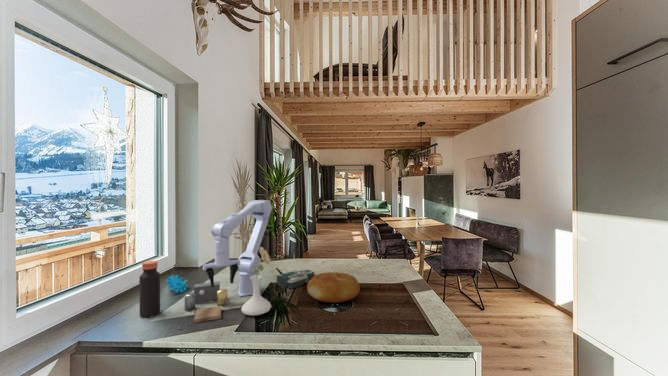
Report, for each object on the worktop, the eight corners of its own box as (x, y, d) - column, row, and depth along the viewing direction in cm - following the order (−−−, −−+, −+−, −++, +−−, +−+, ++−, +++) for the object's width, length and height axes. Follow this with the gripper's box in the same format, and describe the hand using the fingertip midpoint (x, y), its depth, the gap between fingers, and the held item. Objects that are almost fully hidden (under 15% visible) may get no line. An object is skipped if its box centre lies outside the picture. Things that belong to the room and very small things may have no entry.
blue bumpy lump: (174, 293, 127) (164, 275, 131) (166, 301, 128) (156, 283, 131) (193, 288, 138) (184, 272, 141) (186, 296, 138) (176, 279, 142)
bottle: (155, 317, 107) (155, 264, 107) (135, 318, 106) (135, 265, 106) (163, 309, 114) (163, 259, 114) (144, 310, 113) (144, 260, 113)
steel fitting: (196, 306, 117) (196, 291, 117) (195, 310, 113) (195, 295, 113) (185, 308, 115) (185, 293, 115) (184, 312, 112) (184, 296, 112)
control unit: (219, 296, 127) (219, 281, 127) (219, 301, 123) (219, 284, 123) (194, 300, 123) (194, 284, 123) (193, 304, 119) (193, 287, 119)
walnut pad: (221, 308, 114) (221, 306, 114) (221, 318, 106) (221, 315, 106) (196, 312, 111) (196, 309, 111) (194, 322, 103) (194, 319, 103)
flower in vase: (260, 320, 104) (260, 252, 104) (234, 315, 108) (234, 250, 108) (279, 306, 117) (278, 245, 117) (255, 302, 121) (255, 243, 121)
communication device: (321, 277, 156) (321, 261, 156) (292, 290, 136) (292, 272, 136) (303, 274, 162) (303, 258, 163) (274, 285, 142) (274, 268, 142)
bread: (325, 284, 145) (325, 264, 145) (367, 292, 133) (367, 271, 133) (297, 299, 125) (297, 276, 125) (344, 310, 113) (344, 285, 113)
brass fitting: (227, 302, 121) (227, 288, 121) (227, 305, 118) (227, 291, 118) (217, 303, 120) (217, 289, 120) (217, 307, 116) (217, 292, 116)
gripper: (237, 248, 126) (237, 278, 126) (201, 252, 118) (201, 285, 118) (241, 251, 120) (241, 283, 120) (204, 255, 112) (204, 290, 112)
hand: (222, 284), depth 119 cm, fingers open, 7 cm apart
